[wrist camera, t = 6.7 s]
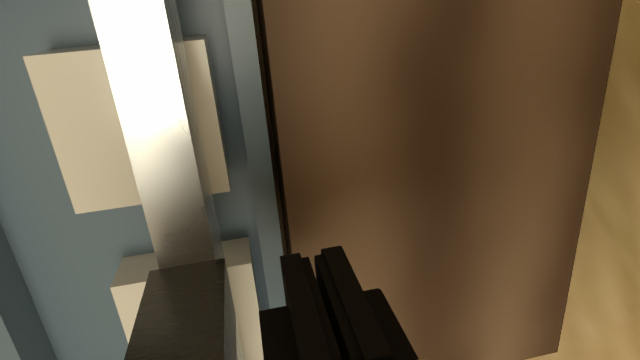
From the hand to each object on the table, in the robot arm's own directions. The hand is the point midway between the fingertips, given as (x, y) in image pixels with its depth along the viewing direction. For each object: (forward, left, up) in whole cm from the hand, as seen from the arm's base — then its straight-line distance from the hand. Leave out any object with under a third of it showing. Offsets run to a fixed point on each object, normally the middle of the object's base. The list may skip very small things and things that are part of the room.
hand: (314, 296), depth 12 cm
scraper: (+3, 0, -4) cm, 5 cm away
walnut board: (-6, 0, -7) cm, 9 cm away
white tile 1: (+4, -4, -6) cm, 9 cm away
